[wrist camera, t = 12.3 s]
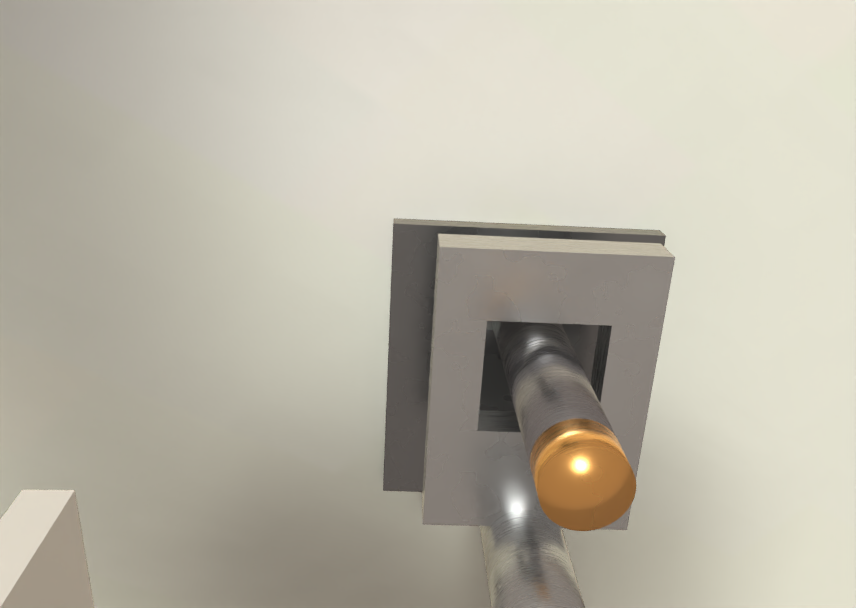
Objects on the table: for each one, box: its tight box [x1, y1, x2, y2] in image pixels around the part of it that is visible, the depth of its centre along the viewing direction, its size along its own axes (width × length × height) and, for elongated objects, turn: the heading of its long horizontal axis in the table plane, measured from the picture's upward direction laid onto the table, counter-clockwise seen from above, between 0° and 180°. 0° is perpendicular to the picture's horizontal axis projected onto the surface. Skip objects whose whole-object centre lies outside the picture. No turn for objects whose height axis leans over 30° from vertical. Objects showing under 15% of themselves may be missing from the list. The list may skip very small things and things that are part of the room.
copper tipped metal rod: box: [492, 321, 636, 531], centre depth 34 cm, size 3×3×16 cm
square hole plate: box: [383, 219, 675, 608], centre depth 36 cm, size 17×14×16 cm
